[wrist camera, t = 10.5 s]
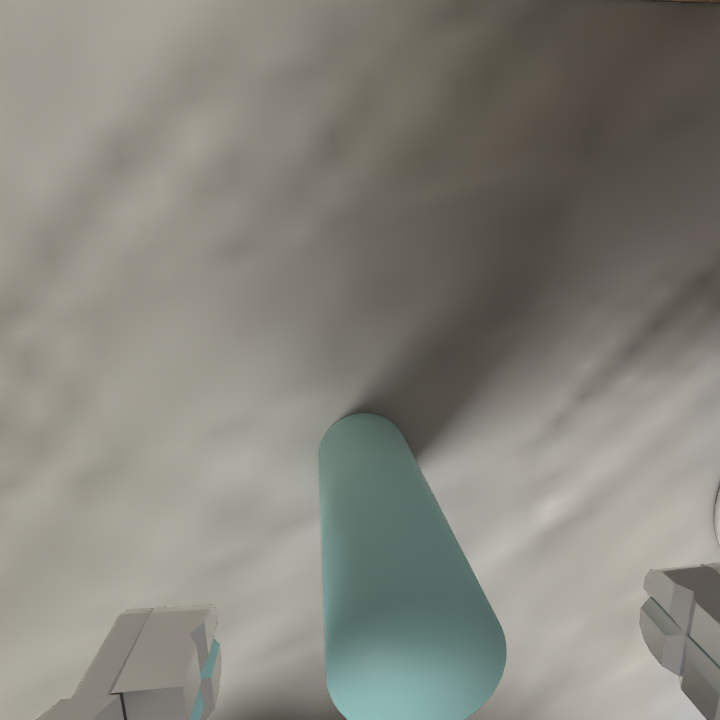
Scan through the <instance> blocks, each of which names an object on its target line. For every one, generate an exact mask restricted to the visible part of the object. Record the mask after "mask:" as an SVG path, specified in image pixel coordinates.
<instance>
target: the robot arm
mask: <svg viewBox="0 0 720 720" xmlns="http://www.w3.org/2000/svg"><path fill="white" fill-rule="evenodd" d="M644 589H645V591H646V592H647V594H648V595H649V599H648V600H647V601H646V602H645V603H644V605H643V606H642V607H641V610H640V621H639V624H640V628H641V631H642V635H643V639H644V641H645V643H646V645H647V646H648V648H649V650H650V652H651V653H652V654H653V656H654V657H655V658H656V659H657V661H658V662H659V663H660V664H661V665H662V666H663V667H665V668H667V669H668V670H670V671H672V672H673V673H675V674H677V675H678V676H679V679H680V686H681V690H682V691H683V692H684V693H685V694H686V696H687V697H688V698H689V699H690V700H691V701H692V703H693V704H694V705H695V706H696V707H697V709H698V710H699V711H700V712H701V713H702V715H703V716H704V717H705V718H706V719H707V720H720V563H712V564H702V565H700V566H686V567H674V568H663V569H652V570H650V571H649V572H648V574H647V575H646V576H645V582H644ZM216 627H217V617H216V610H215V607H214V606H213V605H195V606H177V607H159V608H155V609H152V608H151V609H133V610H126V611H124V612H123V613H122V614H120V615H119V617H118V618H117V620H116V621H115V623H114V625H113V627H112V628H111V630H110V632H109V634H108V635H107V637H106V639H105V641H104V642H103V644H102V646H101V647H100V649H99V651H98V653H97V654H96V656H95V658H94V660H93V661H92V663H91V665H90V667H89V668H88V670H87V672H86V674H85V675H84V677H83V679H82V681H81V682H80V684H79V686H78V687H77V689H76V691H75V693H74V694H73V696H72V698H71V699H63V700H60V701H59V702H58V703H56V704H55V705H54V706H53V707H51V708H50V709H49V710H48V711H46V712H45V713H44V714H43V715H41V716H40V717H39V718H37V719H36V720H206V718H207V717H208V716H209V715H210V713H211V712H212V711H213V710H214V709H215V705H216V701H217V696H218V692H219V684H220V675H221V651H220V644H219V643H218V642H217V641H216V640H215V639H214V638H213V637H214V634H215V630H216Z"/></svg>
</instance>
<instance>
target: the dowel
mask: <svg viewBox="0 0 720 720" xmlns="http://www.w3.org/2000/svg"><path fill="white" fill-rule="evenodd" d="M319 483H320V515H321V548H322V580H323V612H324V644H325V676H326V684H327V688H328V691H329V695H330V697H331V699H332V701H333V703H334V705H335V706H336V707H337V709H338V710H339V712H340V713H341V714H342V715H343V716H344V717H345V718H346V719H347V720H465V719H467V718H468V717H470V716H471V715H472V714H473V713H475V712H476V711H477V710H478V709H479V708H480V707H481V706H482V705H483V704H484V703H485V702H486V701H487V700H488V698H489V697H490V696H491V695H492V693H493V692H494V690H495V688H496V687H497V685H498V683H499V681H500V679H501V676H502V674H503V670H504V667H505V662H506V641H505V636H504V633H503V630H502V627H501V625H500V623H499V621H498V619H497V617H496V615H495V613H494V611H493V610H492V608H491V606H490V604H489V602H488V600H487V598H486V596H485V594H484V592H483V590H482V588H481V586H480V584H479V582H478V580H477V578H476V576H475V575H474V573H473V571H472V569H471V567H470V565H469V563H468V561H467V559H466V557H465V555H464V553H463V551H462V549H461V547H460V545H459V543H458V541H457V540H456V538H455V536H454V534H453V532H452V530H451V528H450V526H449V524H448V522H447V520H446V518H445V516H444V514H443V512H442V510H441V508H440V506H439V505H438V503H437V501H436V499H435V497H434V495H433V493H432V491H431V489H430V487H429V485H428V483H427V481H426V479H425V477H424V475H423V473H422V471H421V470H420V468H419V466H418V464H417V462H416V460H415V458H414V456H413V454H412V452H411V450H410V448H409V446H408V444H407V442H406V440H405V438H404V436H403V435H402V433H401V431H400V430H399V428H398V427H397V426H396V425H395V424H394V423H393V422H391V421H390V420H389V419H387V418H385V417H383V416H380V415H377V414H373V413H357V414H352V415H349V416H347V417H344V418H342V419H340V420H339V421H337V422H336V423H335V424H334V425H333V426H331V427H330V429H329V430H328V431H327V432H326V434H325V435H324V437H323V439H322V441H321V444H320V448H319Z"/></svg>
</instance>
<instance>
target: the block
mask: <svg viewBox="0 0 720 720" xmlns="http://www.w3.org/2000/svg"><path fill="white" fill-rule="evenodd" d="M658 1H689V2H719V3H720V0H658Z"/></svg>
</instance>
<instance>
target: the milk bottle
mask: <svg viewBox="0 0 720 720" xmlns="http://www.w3.org/2000/svg"><path fill="white" fill-rule="evenodd" d="M714 527H715V532H716V539H717V541H718V543H719V546H720V489H719V493H718V497H717V501H716V505H715V517H714Z"/></svg>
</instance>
